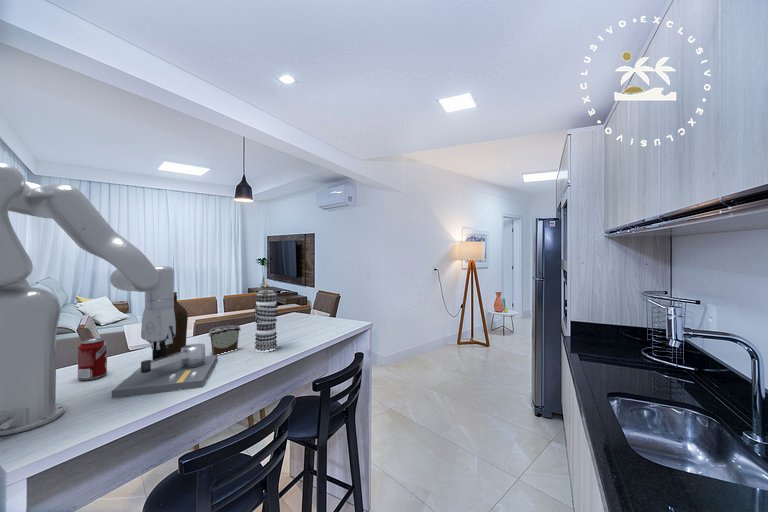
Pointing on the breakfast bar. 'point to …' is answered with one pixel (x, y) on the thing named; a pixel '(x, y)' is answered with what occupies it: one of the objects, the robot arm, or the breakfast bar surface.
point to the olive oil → (178, 328)
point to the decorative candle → (266, 320)
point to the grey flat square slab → (165, 379)
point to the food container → (224, 339)
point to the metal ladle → (178, 358)
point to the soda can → (92, 359)
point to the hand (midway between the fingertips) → (159, 360)
